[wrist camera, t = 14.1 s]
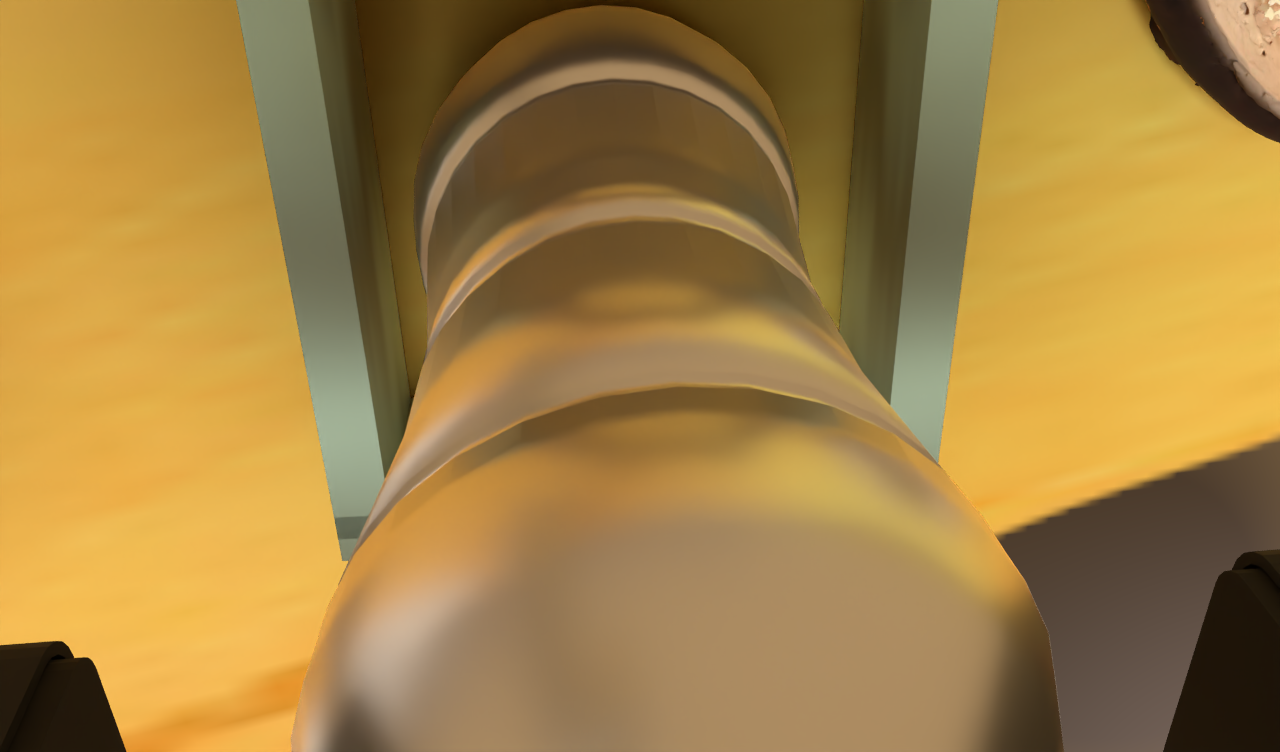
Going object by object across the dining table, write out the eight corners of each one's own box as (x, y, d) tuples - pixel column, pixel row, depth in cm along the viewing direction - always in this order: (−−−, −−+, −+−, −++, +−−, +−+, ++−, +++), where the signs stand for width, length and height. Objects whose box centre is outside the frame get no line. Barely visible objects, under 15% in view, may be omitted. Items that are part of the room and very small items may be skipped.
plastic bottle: (382, 253, 23) (-45, 1872, 6) (494, -88, 20) (254, 1262, 3) (684, 351, 25) (996, 1851, 8) (830, 49, 22) (1855, 1431, 5)
